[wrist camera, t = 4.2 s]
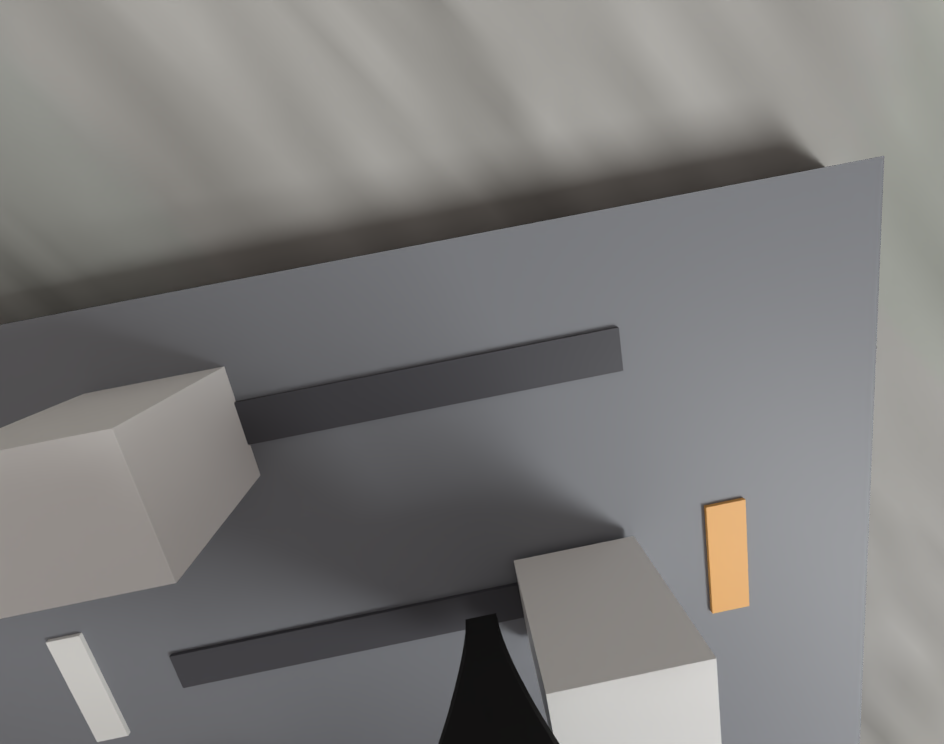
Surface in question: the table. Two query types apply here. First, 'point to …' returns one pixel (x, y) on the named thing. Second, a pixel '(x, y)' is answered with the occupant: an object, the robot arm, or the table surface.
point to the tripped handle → (616, 649)
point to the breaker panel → (446, 471)
